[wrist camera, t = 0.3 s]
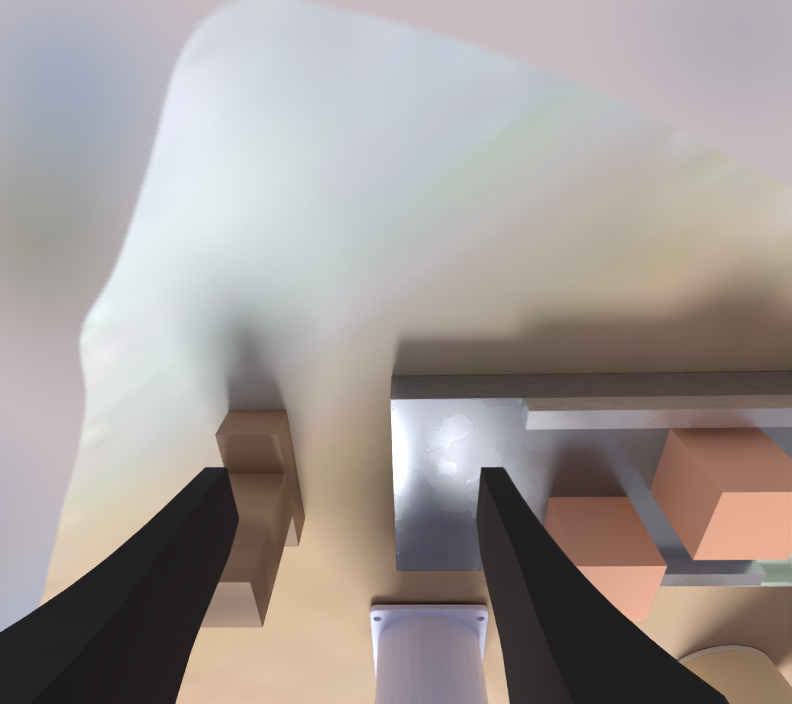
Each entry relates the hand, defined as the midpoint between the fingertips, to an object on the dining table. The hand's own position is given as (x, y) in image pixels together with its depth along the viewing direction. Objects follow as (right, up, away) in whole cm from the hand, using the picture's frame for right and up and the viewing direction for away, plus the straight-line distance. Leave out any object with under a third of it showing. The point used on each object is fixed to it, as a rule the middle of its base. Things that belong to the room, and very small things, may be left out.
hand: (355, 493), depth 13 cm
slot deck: (+11, -2, +12) cm, 17 cm away
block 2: (+16, -1, +9) cm, 19 cm away
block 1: (+11, -5, +11) cm, 17 cm away
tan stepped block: (-6, -2, +13) cm, 14 cm away
